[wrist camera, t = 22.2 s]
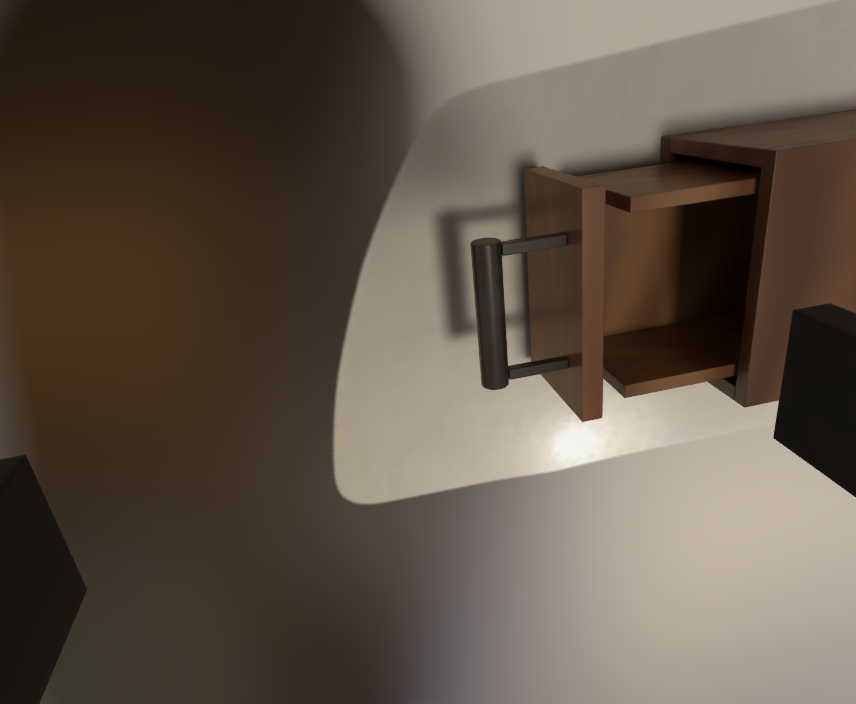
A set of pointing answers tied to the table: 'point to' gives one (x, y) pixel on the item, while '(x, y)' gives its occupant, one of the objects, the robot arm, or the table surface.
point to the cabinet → (787, 231)
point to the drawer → (624, 279)
